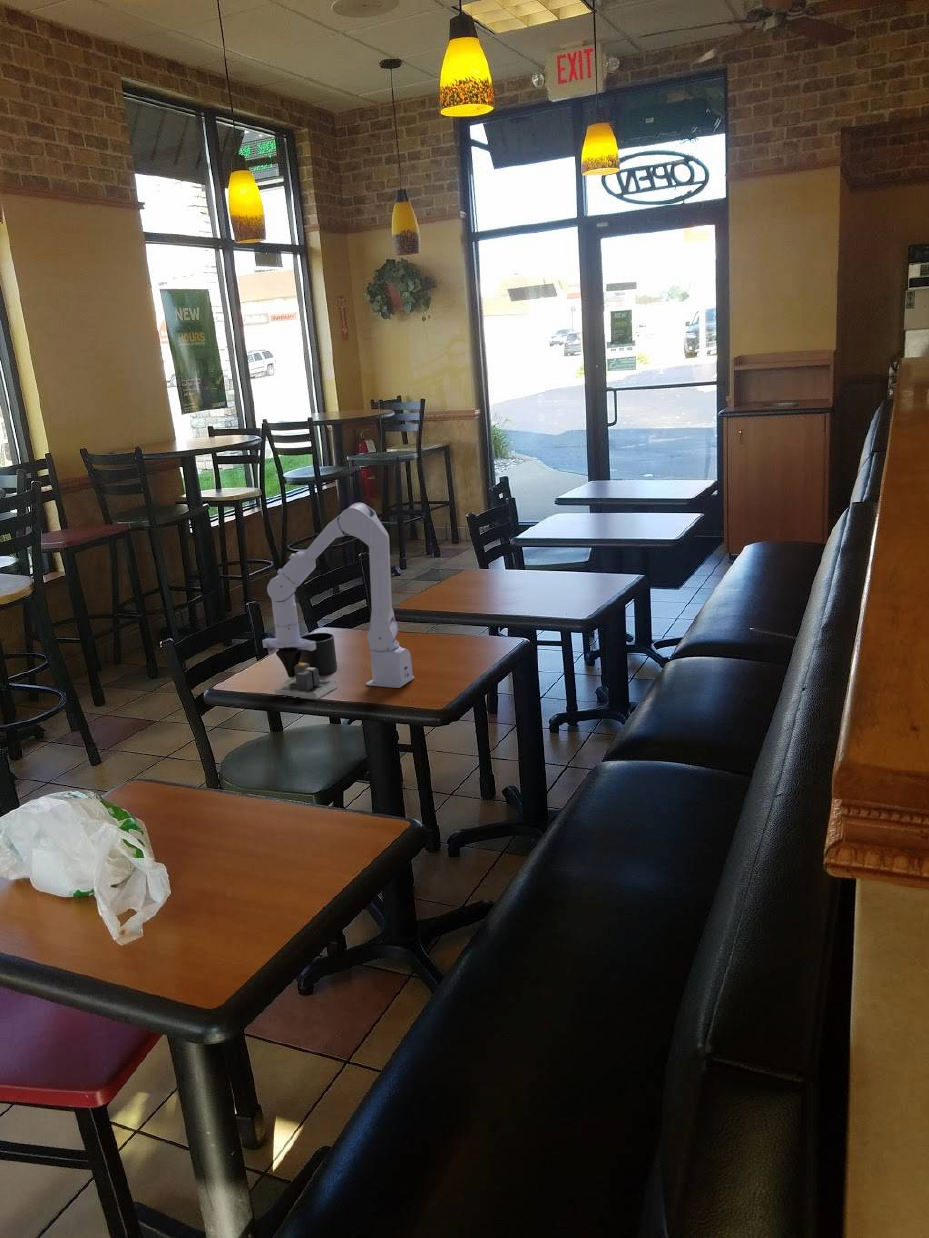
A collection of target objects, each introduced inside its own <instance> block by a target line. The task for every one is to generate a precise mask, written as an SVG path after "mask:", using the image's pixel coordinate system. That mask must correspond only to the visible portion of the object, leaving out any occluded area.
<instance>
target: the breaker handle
mask: <svg viewBox="0 0 929 1238" xmlns="http://www.w3.org/2000/svg"><path fill="white" fill-rule="evenodd" d="M308 667H310V665H309V664H307V663H300V662H299V663H298V664H297V665H295V666H294V669H295V677H294V678H296V674H297V673H299V672H301V671H303V670H304V669H306V668H308ZM296 681H297V680H296Z"/></svg>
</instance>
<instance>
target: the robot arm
mask: <svg viewBox="0 0 929 1238" xmlns="http://www.w3.org/2000/svg"><path fill="white" fill-rule="evenodd" d="M346 535H349V536H353V537H354V538H357V539H359V540H360V541H362V542H363V543H364V544H365V545H367V546H368V554H369V576H370V579H369V580H370V600H371V602H370V603H371V613H370V622H369V623H370V625H369V630H368V632H367V635H366V641H367V643H368V645H369V654H370V655H369V656H370V664H371V667H370V668H371V675H372V679H371V680H369V681H367V682H366V683H365V685H366V686H373V687H382V688H396V689H400V688H402V687H403V686H404V685H406V684H408V683H409V682H410V681H412V680H414V679H415V676H414V673H413V666H412V655H411V653H410V650H409V649H407V648H404V647H401V646H400V643H399V641H398V640H397V638H396V636H397V635H398V633H399V625H398V623H397V621H396V618H395V613H394V609H393V604H392V602H393V601H392V579H391V577H392V576H391V552H390V547H391V546H390V534H389V533H388V531H387V530H386V528H385V527H384V525H383V524H382V522H381V521H380V519H379V518H378V515H377V513H376V511H375V510H374V509H373V508H371V507H370V506H368V505H367V504H365V503H364V502H363V503H362V502H355V503H353V504H351V505H349V506H348V508H346V509H344V510H343V511H342V512H341V513H340V514H339V515H337V516H336V517H335V518H333V520H332V521H330V522H329V523H327V525H326V526H325V527H324V528H323V529H322V531H321V532H320V533H319V534H318V536H317V537H316V538H315V539H314V540H313V541H312V543H311V544H310V545H309V546H308V547H307V549H305V550H304V551H303V550H301V551H297V552H295V553H293V552H292V553H291V554H290V556H288V559H289V560H288V562H286V564H285V565H284V566H283V567H282V568H279V569H278V570H277V571H276V573H277V575H276V576H275V577H273V578H271V579H270V581H269V582H268V584H267V588H266V591H267V594H268V596H269V598H270V599H271V605H272V607H271V608H272V614H273V622H274V623H273V624H274V632H275V637H273V638H271V637H266V638H265V639H262V642H261V643H262V647H263V649H264V648H266V649H268V648H275V649H278V650H277V651H276V652H275V655H276V656H277V657H278V658H279V660H280V662H281V663H282V665H283V667H284V669H285V671H286V674H287V676H288V678H289V679H290V678H291V679H292V678H293V679H294V678H296V677H295V669H294V666H295V665H297V664H298V663H300V662H299V661H300V658H301V655H302V653H303V651H304V650H309V651H313V650H315V649H316V642H315V641H310V640H306V639H302V638H300V637H301V635H300V626H299V619H298V618H299V617H298V609H297V604H296V595H295V592H297V591H296V590H297V587H299V586H300V585H301V584H302V583H303V582H304V581H305V580H306V579H307V578H308V576H309V575H311V573H312V572H313V571H314V570H315V569H316V567H317V565H316V560H317V558H318V557H319V556H320V555H322V553H323V552H324V551H325V550H326V548H327V547H329V546H330V544H331V543H333V542H334V541H335V539H337V538H342V537H345V536H346Z"/></svg>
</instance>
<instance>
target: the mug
mask: <svg viewBox="0 0 929 1238" xmlns="http://www.w3.org/2000/svg"><path fill="white" fill-rule="evenodd" d="M300 638H302V639H306V640H310V641H315V642H316V649H315V650H313V651H309V650H304V651H303V653H302V655H301V658H300V661H299V663H307V664H309V665H310V667H311V668H318V672H319V677H322V676H327V675H330V674H332V673H333V674H334V673H335V672H336V671H337V669H338V663H337V653H336V644H335V643H336V642H335V636H334V635H333V633H329V632H315V633H308V634H305V635H302V636H301V635H300Z"/></svg>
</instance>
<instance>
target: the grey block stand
mask: <svg viewBox="0 0 929 1238" xmlns="http://www.w3.org/2000/svg"><path fill="white" fill-rule="evenodd" d="M296 680H297V681H296ZM335 689H338V682H337V681H335V680H324V679H320V676H319V672H318V668H311V667H308V668H306V669H304V670H303V671H301V672H299V673H297V674H296V677H294V678H293V679H291V680H290V681H288V682H287V683H285V684H283V685H281V686H279V687H277V688H275V689H274V695H275V694H281V695H288V696H289V695H290V696H295V697H294V698H296V697H300V699H309V700H319V699H320V698H323V697H324V696H325V695H327V694H328V693H330V692H332V691H334V690H335Z"/></svg>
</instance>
